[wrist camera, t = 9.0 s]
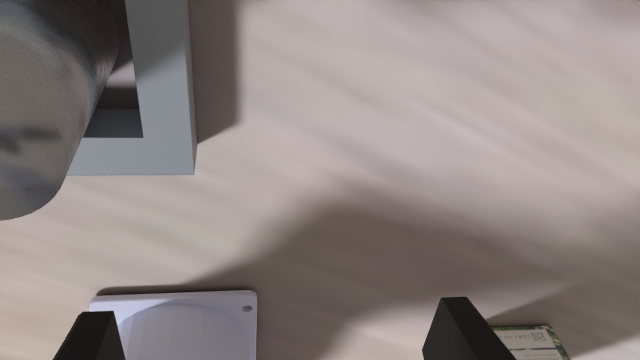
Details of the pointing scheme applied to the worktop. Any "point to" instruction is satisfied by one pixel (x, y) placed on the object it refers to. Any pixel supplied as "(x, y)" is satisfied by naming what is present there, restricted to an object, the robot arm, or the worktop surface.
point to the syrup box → (532, 342)
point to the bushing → (48, 92)
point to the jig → (148, 102)
